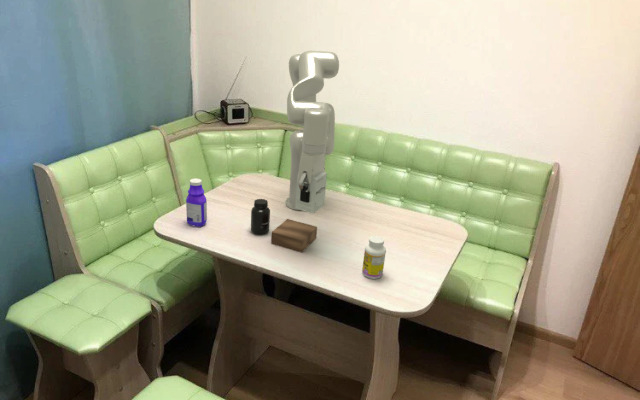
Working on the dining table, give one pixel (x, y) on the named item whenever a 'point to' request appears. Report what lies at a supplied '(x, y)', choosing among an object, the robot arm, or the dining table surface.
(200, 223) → the bottle
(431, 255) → the dining table surface
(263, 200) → the supplement bottle
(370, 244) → the supplement bottle
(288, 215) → the dining table surface
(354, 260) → the dining table surface
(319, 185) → the supplement box
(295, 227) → the walnut block
